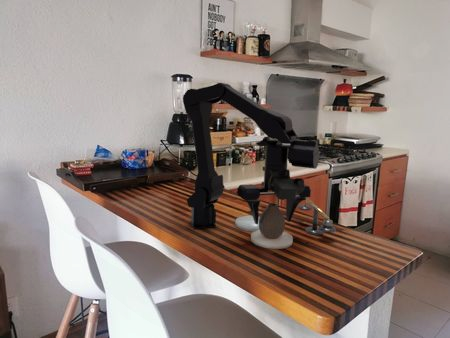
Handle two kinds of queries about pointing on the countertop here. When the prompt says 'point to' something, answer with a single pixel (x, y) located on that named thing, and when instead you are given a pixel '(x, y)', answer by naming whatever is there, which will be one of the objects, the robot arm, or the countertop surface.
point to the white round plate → (247, 223)
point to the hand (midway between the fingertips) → (272, 222)
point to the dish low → (272, 240)
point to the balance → (326, 222)
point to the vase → (272, 222)
